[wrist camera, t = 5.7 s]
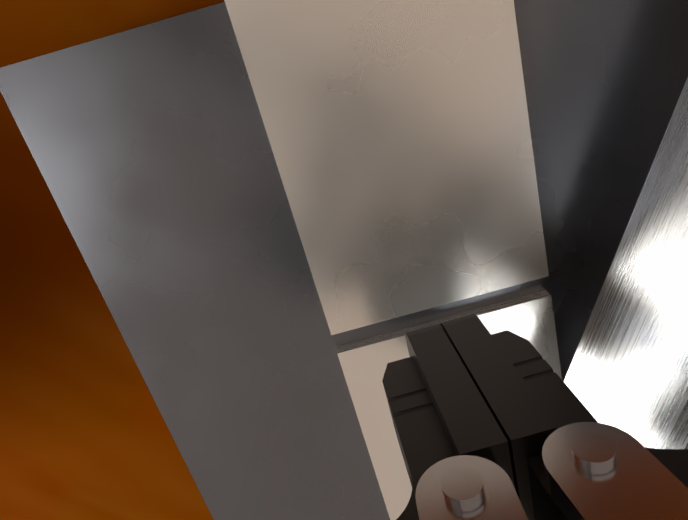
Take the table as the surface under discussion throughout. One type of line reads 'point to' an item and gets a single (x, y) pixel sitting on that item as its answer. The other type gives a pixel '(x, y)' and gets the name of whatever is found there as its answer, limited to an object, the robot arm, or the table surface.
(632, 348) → the swing bar
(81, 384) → the table surface
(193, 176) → the plate
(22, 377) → the table surface
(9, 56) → the table surface
